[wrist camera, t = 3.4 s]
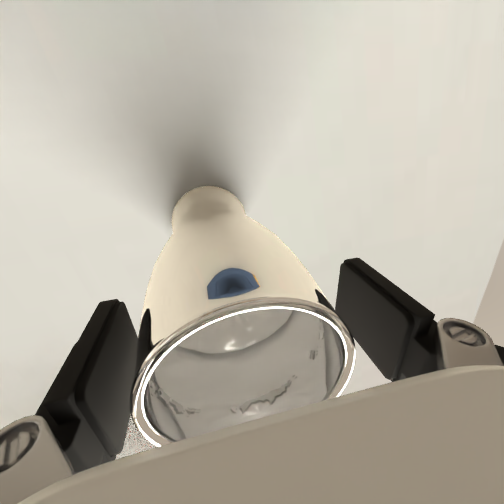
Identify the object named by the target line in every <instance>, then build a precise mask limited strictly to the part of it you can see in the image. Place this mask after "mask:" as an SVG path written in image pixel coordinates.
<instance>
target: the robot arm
mask: <svg viewBox="0 0 504 504" xmlns="http://www.w3.org/2000/svg"><path fill="white" fill-rule="evenodd" d="M335 311H336V313H337V314H338V315H339V316H340V317H341V318H342V319H343V321H344V322H345V323H346V324H347V326H348V327H349V329H350V331H351V333H352V336H353V337H354V339H355V340H356V341H357V342H358V344H359V345H360V346H361V347H362V349H363V350H364V351H365V353H366V354H367V355H368V356H369V358H370V359H371V360H372V361H373V363H374V364H375V365H376V366H377V368H378V369H379V370H380V371H381V373H382V374H383V375H384V376H385V378H387V379H389V380H391V381H392V382H391V383H387V384H383V385H380V386H376V387H372V388H369V389H365V390H361V391H357V392H354V393H350V394H346V395H343V396H339V397H335V398H332V399H328V400H324V401H321V402H317V403H313V404H310V405H306V406H302V407H299V408H295V409H291V410H288V411H284V412H281V413H277V414H273V415H270V416H266V417H262V418H259V419H255V420H252V421H248V422H244V423H241V424H237V425H234V426H230V427H227V428H223V429H220V430H216V431H212V432H209V433H205V434H202V435H198V436H195V437H191V438H188V439H184V440H180V441H177V442H173V443H170V444H166V445H163V446H160V447H156V448H153V449H150V450H146V451H143V452H140V453H136V454H133V455H130V456H126V457H123V458H120V459H116V454H119V453H121V451H122V449H123V445H124V441H125V436H126V432H127V427H128V423H129V418H130V414H131V412H130V404H129V399H130V391H131V387H132V383H133V380H134V373H135V365H136V355H137V345H138V337H137V335H136V332H135V329H134V327H133V324H132V321H131V319H130V316H129V314H128V311H127V308H126V306H125V303H124V302H119V300H118V299H114V300H108V301H102V302H100V303H99V304H98V306H97V308H96V310H95V311H94V313H93V315H92V317H91V319H90V321H89V322H88V324H87V326H86V328H85V330H84V331H83V333H82V335H81V337H80V339H79V340H78V342H77V343H76V344H75V345H74V346H73V348H72V350H71V352H70V354H69V355H68V357H67V359H66V361H65V362H64V364H63V366H62V368H61V370H60V371H59V373H58V375H57V377H56V379H55V380H54V382H53V384H52V386H51V387H50V389H49V391H48V393H47V395H46V396H45V398H44V400H43V402H42V403H41V405H40V407H39V409H38V411H37V412H36V414H35V415H33V416H27V417H24V418H21V419H19V420H16V421H14V422H12V423H11V424H9V425H7V426H6V427H4V428H3V429H1V430H0V504H504V347H501V346H498V345H494V343H493V341H492V339H491V338H490V336H489V335H488V334H487V333H486V332H485V331H484V330H482V329H481V328H479V327H477V326H476V325H474V324H472V323H469V322H467V321H464V320H460V319H455V318H444V319H441V320H440V321H439V322H438V323H437V322H436V321H434V320H433V319H434V316H435V314H433V313H432V312H431V311H429V310H428V309H427V308H425V307H424V306H423V305H421V304H420V303H419V302H417V301H416V300H415V299H413V298H412V297H411V296H409V295H408V294H407V293H405V292H404V291H403V290H401V289H400V288H399V287H397V286H396V285H395V284H393V283H392V282H391V281H389V280H388V279H387V278H385V277H384V276H383V275H381V274H380V273H379V272H377V271H376V270H374V269H373V268H372V267H370V266H369V265H368V264H366V263H365V262H364V261H362V260H361V259H360V258H353V259H347V260H345V261H344V263H342V264H341V267H340V275H339V283H338V291H337V299H336V307H335ZM115 459H116V460H115Z"/></svg>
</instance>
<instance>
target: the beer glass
mask: <svg viewBox="0 0 504 504" xmlns="http://www.w3.org/2000/svg"><path fill="white" fill-rule="evenodd" d="M171 224H172V231H173V234H172V235H171V237H170V238H169V240H168V241H167V242H166V244H165V246H164V247H163V249H162V251H161V253H160V255H159V257H158V259H157V261H156V263H155V265H154V268H153V271H152V274H151V277H150V280H149V283H148V286H147V290H146V295H145V300H144V305H143V310H142V315H141V322H140V329H139V337H138V345H137V355H136V365H135V373H134V380H133V383H132V387H131V391H130V399H129V404H130V412H131V416H132V419H133V422H134V424H135V426H136V427H137V429H138V430H139V432H140V433H141V434H142V435H143V436H144V437H145V438H146V439H147V440H148V441H149V442H151V443H152V444H154V445H155V446H157V447H160V446H163V445H166V444H170V443H173V442H177V441H180V440H184V439H188V438H191V437H195V436H198V435H202V434H205V433H209V432H212V431H216V430H220V429H223V428H227V427H230V426H234V425H237V424H241V423H244V422H248V421H252V420H255V419H259V418H262V417H266V416H270V415H273V414H277V413H281V412H284V411H288V410H291V409H295V408H299V407H302V406H306V405H310V404H313V403H317V402H321V401H324V400H328V399H332V398H335V397H338V396H339V395H340V394H341V392H342V391H343V389H344V388H345V386H346V384H347V383H348V381H349V378H350V376H351V374H352V371H353V367H354V363H355V343H354V339H353V336H352V333H351V331H350V329H349V327H348V326H347V324H346V323H345V322H344V321H343V319H342V318H341V317H340V316H339V315H338V314H337V313H336V311H335V310H334V308H333V307H332V305H331V304H330V303H329V301H328V300H327V298H326V297H325V295H324V294H323V292H322V290H321V289H320V287H319V286H318V285H317V283H316V282H315V280H314V279H313V277H312V276H311V275H310V273H309V272H308V270H307V269H306V268H305V266H304V265H303V264H302V263H301V261H300V260H299V259H298V258H297V256H296V255H295V254H294V253H293V252H292V250H291V249H290V248H289V247H288V246H287V245H286V244H285V243H284V242H283V241H282V240H281V239H280V238H279V237H278V236H277V235H275V234H274V233H273V232H272V231H270V230H269V229H267V228H266V227H265V226H263V225H262V224H260V223H259V222H257V221H255V220H254V219H252V218H250V217H248V216H246V213H245V210H244V207H243V205H242V204H241V202H240V201H239V199H238V198H237V197H236V196H235V195H234V194H232V193H231V192H229V191H227V190H225V189H223V188H220V187H216V186H202V187H198V188H195V189H192V190H190V191H189V192H187V193H186V194H184V195H183V196H182V197H181V198H180V199H179V201H178V202H177V204H176V205H175V207H174V210H173V213H172V220H171Z"/></svg>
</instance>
